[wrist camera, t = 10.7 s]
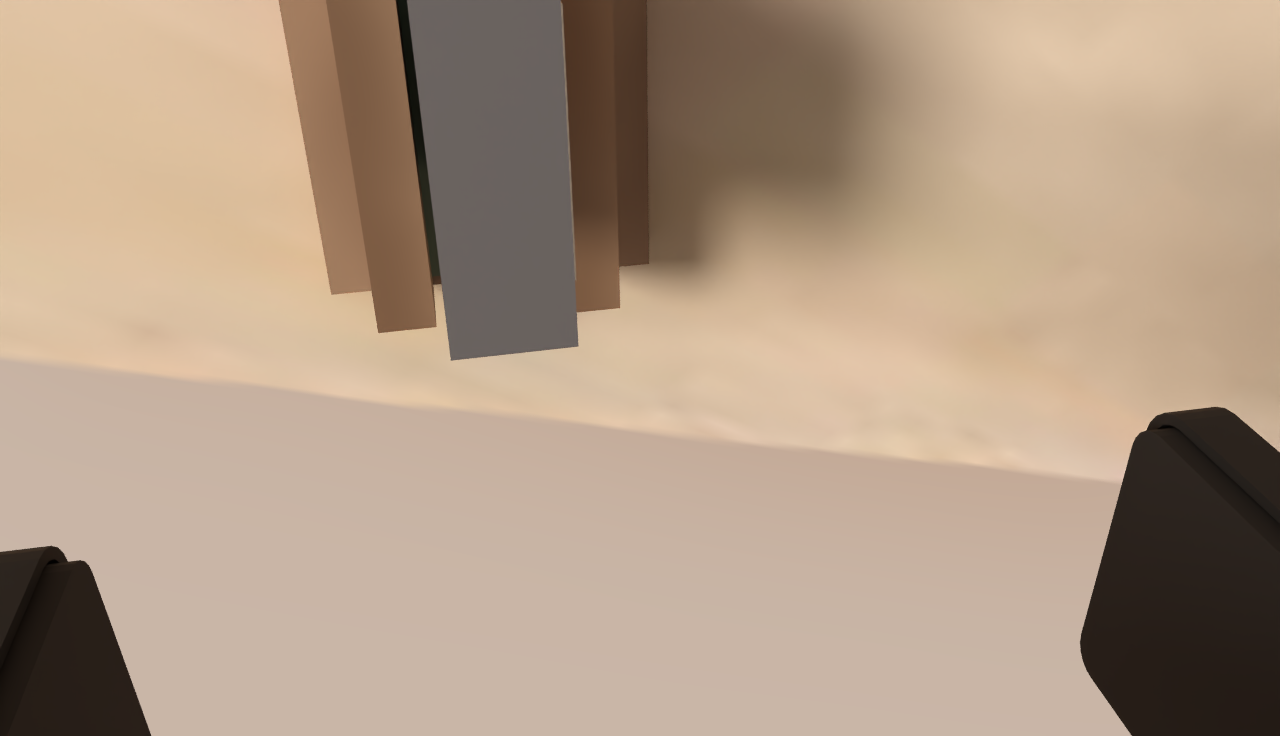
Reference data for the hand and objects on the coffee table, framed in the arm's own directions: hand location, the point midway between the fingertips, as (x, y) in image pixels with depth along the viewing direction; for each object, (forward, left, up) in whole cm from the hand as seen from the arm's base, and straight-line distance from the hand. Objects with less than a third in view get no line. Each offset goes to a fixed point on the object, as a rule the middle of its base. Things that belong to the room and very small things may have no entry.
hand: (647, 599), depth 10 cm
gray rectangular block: (0, 0, -21) cm, 21 cm away
